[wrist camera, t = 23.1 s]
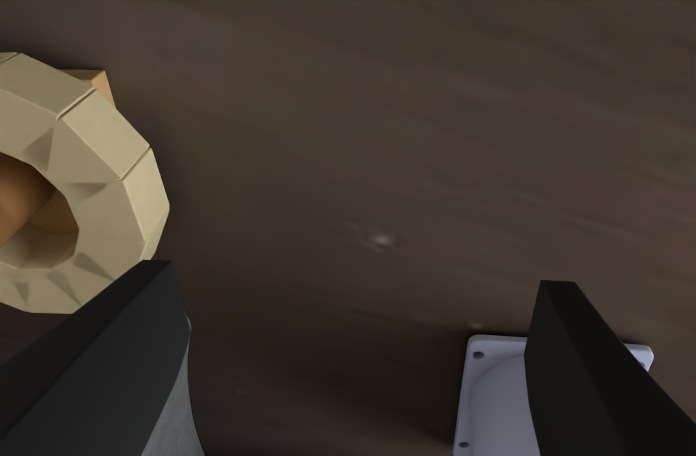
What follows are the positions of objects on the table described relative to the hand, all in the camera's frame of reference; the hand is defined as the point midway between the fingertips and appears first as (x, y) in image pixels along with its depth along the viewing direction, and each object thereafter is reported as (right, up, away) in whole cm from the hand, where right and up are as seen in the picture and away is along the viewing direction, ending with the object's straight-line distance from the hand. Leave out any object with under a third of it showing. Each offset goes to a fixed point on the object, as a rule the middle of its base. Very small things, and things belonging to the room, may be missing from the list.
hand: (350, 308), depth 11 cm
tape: (-12, +4, +11) cm, 17 cm away
